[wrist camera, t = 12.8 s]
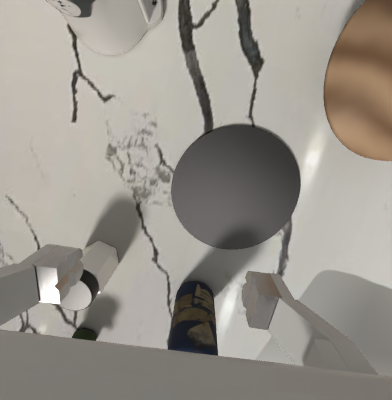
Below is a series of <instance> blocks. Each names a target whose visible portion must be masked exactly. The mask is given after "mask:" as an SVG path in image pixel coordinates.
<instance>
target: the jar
mask: <svg viewBox="0 0 392 400" xmlns="http://www.w3.org/2000/svg"><path fill="white" fill-rule="evenodd" d="M82 251H83V257H82V258H81V259H80V261H81V262H82V263H83V274H82V276H81V278H80V280H79V281H78V283H77V284H76V285H74V286H72V287H70V292H69V293H68V295H67V296H66V297H65V298H64V299H63V300H62V302H61V303H60V304H59V303H56V304H58V305H59V306H60V307H62V308H65V309H67V310H72V311H79V310H83V309H85V308H87V307H88V306H89V305H90V304H91V303H92V301H93V300H94V298H95V297H96V295H98V294H100V293H101V292H102V290H103V288H104V287H105V285H106V284H107V282H108V281H109V279H110V278H111V276H112V274H113V273H114V271H115V270H116V268H117V267H118V265H119V263H118V256H117V250H116V248H114V247H112V246H110V245H108V244H106V243H103V242H101V241H99V240H98V241H96V242H95V243H93V244H91V245H89V246H87V247H86V248H84V249H83V250H82Z"/></svg>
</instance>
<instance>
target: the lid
mask: <svg viewBox="0 0 392 400" xmlns="http://www.w3.org/2000/svg"><path fill="white" fill-rule="evenodd" d="M324 106H325V112H326V116H327V120H328V122H329V124H330V127H331V129H332V131H333V132H334V134H335V136H336V137H337V138H338V139H339V141H340V142H341V143H342V144H343V145H344V146H346V147H347V148H348V149H349V150H351V151H352V152H354V153H356V154H358V155H360V156H363V157H365V158H370V159H374V160H383V161H392V0H366V1H365V2H364V3H363V4H362V5H361V6H360V7H359V8H358V9H357V11H356V12H355V13H354V15H353V16H352V17H351V19H350V20H349V21H348V22H347V24H346V26H345V27H344V29H343V31H342V32H341V34H340V36H339V38H338V40H337V42H336V44H335V46H334V48H333V51H332V53H331V56H330V59H329V62H328V66H327V70H326V74H325V81H324Z"/></svg>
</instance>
